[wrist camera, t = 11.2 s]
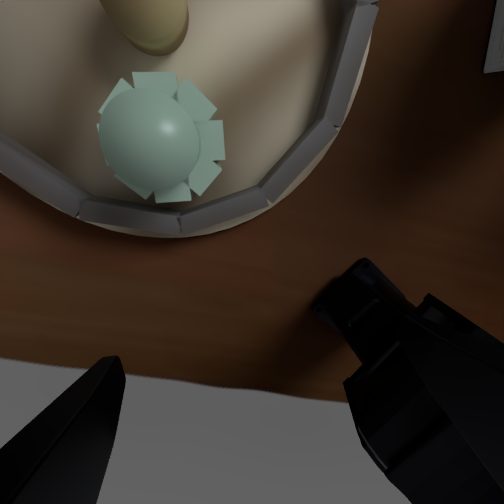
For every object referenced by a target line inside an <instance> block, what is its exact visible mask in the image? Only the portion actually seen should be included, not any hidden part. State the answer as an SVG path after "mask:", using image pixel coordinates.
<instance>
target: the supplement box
mask: <svg viewBox="0 0 504 504" xmlns="http://www.w3.org/2000/svg"><path fill="white" fill-rule="evenodd" d="M497 71H504V0H497V3H496V8H495V13H494V19H493V24H492V29H491V35H490V40H489V45H488V50H487V56H486V61H485V66H484V73H490V72H497Z"/></svg>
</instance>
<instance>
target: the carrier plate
mask: <svg viewBox="0 0 504 504" xmlns="http://www.w3.org/2000/svg"><path fill="white" fill-rule="evenodd" d="M378 1H380V0H0V172H1V173H2V174H3V175H5V176H6V177H7V178H9V179H10V180H12V181H13V182H14V183H16V184H17V185H19V186H20V187H21V188H23V189H24V190H26V191H27V192H29V193H30V194H32V195H33V196H35V197H37V198H39V199H40V200H42V201H44V202H46V203H47V204H49V205H51V206H52V207H54V208H56V209H58V210H60V211H62V212H64V213H67V214H68V215H70V216H72V217H73V218H75V217H76V218H78V219H79V220H82V221H85V222H87V223H90V224H94V225H97V226H100V227H103V228H106V229H109V230H112V231H117V232H122V233H127V234H131V235H136V236H146V237H157V238H180V237H191V236H198V235H205V234H210V233H214V232H217V231H221V230H225V229H228V228H231V227H234V226H236V225H238V224H241V223H243V222H246V221H248V220H250V219H252V218H254V217H256V216H258V215H259V214H261V213H263V212H265V211H266V210H268V209H270V208H271V207H273V206H274V205H275V204H277V203H278V202H279V201H281V200H282V199H283V198H285V197H286V196H287V195H289V194H290V193H291V192H292V191H293V190H294V189H295V188H296V187H297V186H298V185H299V184H300V183H301V182H302V181H303V180H304V179H305V178H307V176H308V175H309V174H310V173H311V171H312V170H313V169H314V168H315V167H316V165H317V164H318V163H319V162H320V161H321V159H322V158H323V157H324V155H325V153H326V152H327V150H328V149H329V147H330V146H331V144H332V143H333V141H334V140H335V138H336V136H337V135H338V133H339V131H340V129H341V127H342V125H343V123H344V121H345V119H346V117H347V115H348V113H349V111H350V108H351V106H352V103H353V100H354V98H355V95H356V92H357V90H358V87H359V84H360V81H361V78H362V74H363V70H364V66H365V63H366V59H367V55H368V51H369V45H370V39H371V33H372V28H373V25H374V22H375V19H376V16H377V13H378V9H379V7H377V6H375V4H376V3H377V2H378ZM132 72H175V74H176V76H177V78H178V80H179V82H180V85H181V84H182V82H183V81H184V80H185V78H186V77H187V78H188V79H189V80H190V81H191V82H192V83H193V84H194V85H195V86H196V88H197V89H198V90H199V91H200V92H201V93H202V94H203V95H204V96H205V97H206V98H207V99H208V100H209V101H210V102H211V103H212V104H213V105H214V106H215V107H216V108H217V113H216V115H215V116H214V118H213V119H212V120H223V134H224V148H225V160H214V161H215V162H217V163H218V164H219V165H220V166H221V168H222V171H221V172H220V173H219V174H218V176H217V177H216V178H215V179H214V180H213V182H212V183H211V184H210V185H209V186H208V187H207V189H206V190H205V191H204V192H203V193H202V195H201V196H199V195H198V194H197V193H195V192H194V194H193V197H192V200H191V201H179V202H164V203H156V200H155V195H154V193H153V194H152V195H151V196H149V197H148V198H147V199H146V200H145V199H144V198H143V197H141V196H140V195H139V194H137V193H136V192H135V191H133V190H132V189H131V188H129V187H128V186H127V185H125V184H124V183H123V182H121V181H120V180H119V179H117V178H116V177H115V176H113V175H114V174H115V173H116V172H115V171H114V170H113V169H112V168H111V166H110V165H108V166H107V165H106V161H105V157H104V154H103V152H102V149H101V146H100V141H99V132H98V128H97V124H99V122H100V118H101V115H102V114H100V113H99V112H98V111H99V110H100V108H101V107H102V105H103V104H104V102H105V101H106V99H107V98H108V96H109V95H110V93H111V92H112V91H113V89H114V88H115V86H116V85H117V83H118V82H119V80H120V79H121V78H123V79H124V80H125V81H127V82H128V83H129V84H131V85H132V86H133V87H135V86H134V81H133V75H132Z"/></svg>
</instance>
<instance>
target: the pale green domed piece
mask: <svg viewBox="0 0 504 504" xmlns="http://www.w3.org/2000/svg"><path fill="white" fill-rule="evenodd" d="M132 75H133V81H134V86H135V87H133V86H132V85H131V84H129V83H128V82H127V81H125V80H124V79H123V78H121V79H120V80H119V82H118V83H117V85H116V86H115V88H114V89H113V91H112V92H111V93H110V95H109V96H108V98H107V99H106V101H105V102H104V104H103V105H102V107H101V108H100V110H99V111H98V112H99V113H100V114H102V115H101V118H100V122H99V124H97V128H98V132H99V141H100V146H101V149H102V152H103V154H104V157H105V161H106V165H107V166H108V165H110V166H111V168H112V169H113V170H114V171H115V172H116V173H115V174H114V175H113V176H115V177H116V178H117V179H119V180H120V181H121V182H123V183H124V184H125V185H127V186H128V187H129V188H131V189H132V190H133V191H135V192H136V193H137V194H139V195H140V196H141V197H143V198H144V199H145V200H146V199H147V198H148V197H149V196H151V195H152V194H153V193H154V195H155V200H156V203H164V202H179V201H191V200H192V197H193V194H194V192H195V193H197V194H198V195H199V196H201V195H202V193H203V192H204V191H205V190H206V189H207V187H208V186H209V185H210V184H211V183H212V182H213V180H214V179H215V178H216V177H217V176H218V174H219V173H220V172H221V171H222V168H221V166H220V165H219V164H218V163H217V162H215V161H214V160H225V148H224V134H223V120H212V119H213V118H214V116H215V115H216V113H217V108H216V107H215V106H214V105H213V104H212V103H211V102H210V101H209V100H208V99H207V98H206V97H205V96H204V95H203V94H202V93H201V92H200V91H199V90H198V89H197V88H196V86H195V85H194V84H193V83H192V82H191V81H190V80H189V79H188V78H187V77H186V78H185V80H184V81H183V82H182V84H181V85H180V82H179V80H178V78H177V76H176V74H175V72H132Z"/></svg>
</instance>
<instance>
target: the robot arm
mask: <svg viewBox="0 0 504 504" xmlns="http://www.w3.org/2000/svg"><path fill="white" fill-rule="evenodd" d="M365 263H366V265H365V266H364V264H365ZM423 299H424V301H423V302H422V303H421V304H420V305H419V306H418V307H415V306H414V305H413V304H412V303H410V302H409V301H408V300H407V299H405V296H404V295H403V294H402V292H401V291H400V290H399V289H398V288H397V287H396V286H395V285H394V284H393V283H392V282H391V281H390V280H389V279H388V278H387V277H386V276H385V275H384V274H383V273H382V272H381V271H380V270H379V269H378V268H377V267H376V266H375V265H374V264H373V263H372V262H371V261H370V260H369V259H367V258H362V259H361V260H360V261H359V262H358V263H356V264H355V265H354V266H353V267H352V268H351V269H350V270H349V271H348V272H347V273H346V274H345V275H344V276H343V277H342V278H341V279H339V280H338V281H337V282H336V283H335V284H334V285H333V286H332V287H331V288H330V289H329V290H328V291H327V292H326V293H325V294H324V295H322V296H321V297H320V298H319V299H318V300H317V301H316V302H315V303H314V304H313V305H312V307H311V309H312V311H313V313H314V314H315V315H317V316H318V317H319V318H320V319H322V320H323V321H324V322H326V323H327V324H328V325H329V326H331V327H332V328H333V329H335V330H336V331H337V332H338V333H340V334H341V335H342V336H343V337H344V338H345V340H346V341H347V343H348V344H349V346H350V347H351V348H352V350H353V351H354V353H355V354H356V356H357V357H358V359H359V360H360V361H361V363H362V365H361V366H360V367H359V369H358V370H357V371H356V372H355V373H354V374H353V375H352V376H351V377H350V378H347V379H346V380H345V381H344V382H343V385H344V389H345V392H346V396H347V399H348V402H349V406H350V409H351V413H352V416H353V420H354V423H355V427H356V430H357V433H358V436H359V438H360V441H361V444H362V446H363V448H364V449H365V450H366V451H367V453H368V454H369V456H370V457H371V458H372V459H373V461H374V462H375V464H376V465H377V466H378V467H379V468H380V469H381V471H382V472H383V473H384V474H385V476H386V477H387V479H388V480H389V481H390V482H391V483H392V484H394V486H396V487H397V488H398V489H399V490H400V491H401V492H402V493H403V494H404V495H405V496H406V497H407V498H408V500H409V501H410V502H411V503H412V504H504V344H503V343H502V342H500V341H499V340H497V339H496V338H494V337H493V336H492V335H490V334H489V333H487V332H486V331H484V330H483V329H481V328H480V327H478V326H477V325H475V324H474V323H472V322H471V321H470V320H468V319H467V318H465V317H464V316H462V315H461V314H459V313H458V312H456V311H455V310H453V309H452V308H450V307H449V306H447V305H446V304H444V303H443V302H441V301H440V300H438V299H437V298H435V297H434V296H433V295H431V294H430V293H428V294H427V295H426V296H425V297H424V298H423ZM316 308H319V309H317V310H316ZM125 383H126V377H125V373H124V370H123V367H122V364H121V361H120V358H119V357H118V356H108V357H103V358H101V359H100V360H99V361H98V362H97V363H95V364H94V365H93V366H92V367H91V368H90V369H89V370H88V371H87V372H85V374H83V375H82V376H81V377H80V378H79V379H78V380H77V381H75V382H74V383H73V384H72V385H71V386H70V387H69V388H68V389H66V390H65V391H64V392H63V393H62V394H61V395H60V396H59V397H57V398H56V399H55V400H54V401H53V402H52V403H51V404H50V405H49V406H47V407H46V408H45V409H44V410H43V411H42V412H41V413H40V414H38V415H37V416H36V417H35V418H34V419H33V420H32V421H31V422H30V423H29V424H27V425H26V426H25V427H24V428H23V429H22V430H21V431H20V432H18V433H17V434H16V435H15V436H14V437H13V438H12V439H11V440H9V441H8V442H7V443H6V444H5V445H4V446H3V447H2V448H1V449H0V504H96V502H97V499H98V496H99V492H100V489H101V485H102V482H103V479H104V475H105V472H106V469H107V465H108V462H109V459H110V455H111V451H112V448H113V444H114V440H115V436H116V431H117V426H118V421H119V415H120V410H121V405H122V400H123V394H124V389H125Z"/></svg>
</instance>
